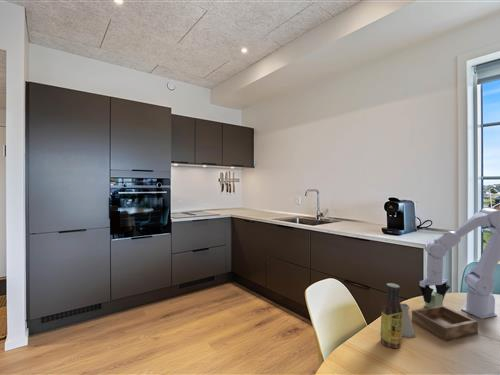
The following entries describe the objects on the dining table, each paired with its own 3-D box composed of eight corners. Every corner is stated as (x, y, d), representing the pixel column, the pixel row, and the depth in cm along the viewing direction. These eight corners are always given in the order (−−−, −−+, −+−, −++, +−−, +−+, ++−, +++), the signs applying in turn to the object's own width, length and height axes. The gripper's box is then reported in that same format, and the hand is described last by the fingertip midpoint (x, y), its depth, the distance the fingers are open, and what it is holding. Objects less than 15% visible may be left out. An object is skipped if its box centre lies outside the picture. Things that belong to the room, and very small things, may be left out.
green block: (432, 304, 117) (432, 291, 117) (442, 309, 113) (442, 295, 113) (424, 305, 116) (425, 292, 115) (434, 310, 111) (435, 296, 111)
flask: (409, 327, 98) (409, 301, 98) (419, 338, 91) (420, 310, 91) (389, 326, 99) (389, 300, 99) (397, 337, 92) (398, 309, 92)
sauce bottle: (393, 351, 84) (395, 290, 83) (376, 341, 89) (377, 283, 89) (406, 346, 87) (407, 286, 86) (388, 336, 92) (389, 280, 92)
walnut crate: (441, 315, 107) (442, 305, 107) (477, 333, 94) (478, 321, 94) (411, 321, 102) (412, 310, 102) (445, 341, 90) (445, 328, 89)
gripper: (437, 266, 120) (436, 295, 120) (413, 268, 115) (412, 299, 116) (453, 271, 113) (452, 302, 113) (428, 274, 109) (427, 306, 109)
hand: (433, 301), depth 114 cm, fingers open, 7 cm apart
